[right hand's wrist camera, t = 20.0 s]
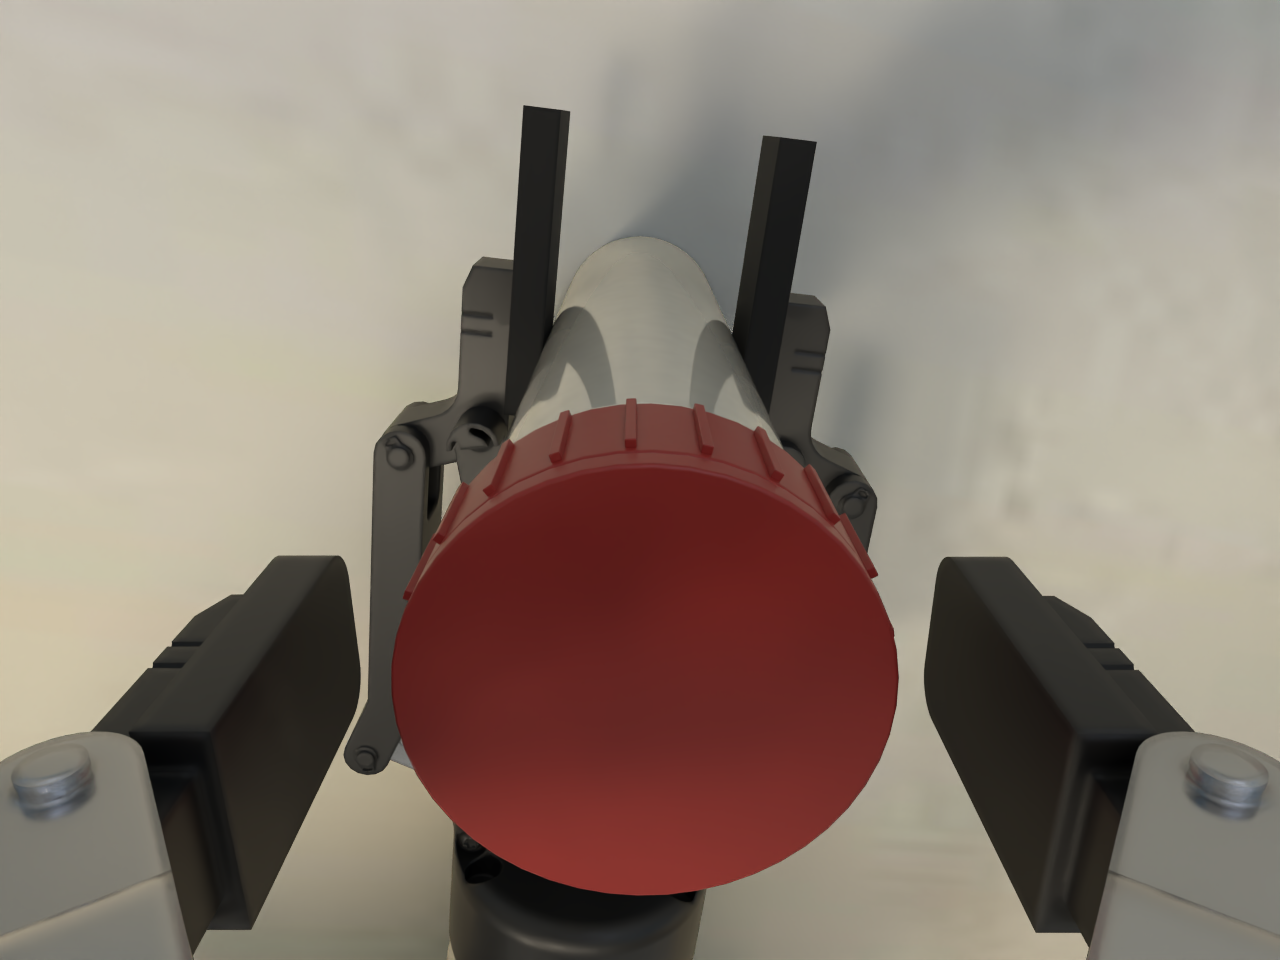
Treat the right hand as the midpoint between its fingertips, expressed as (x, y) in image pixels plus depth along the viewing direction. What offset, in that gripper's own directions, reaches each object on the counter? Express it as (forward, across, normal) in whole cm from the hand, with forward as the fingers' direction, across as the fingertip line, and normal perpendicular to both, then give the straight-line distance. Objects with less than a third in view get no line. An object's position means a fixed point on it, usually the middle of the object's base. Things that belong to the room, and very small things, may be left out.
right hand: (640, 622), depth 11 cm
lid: (-2, 0, -1) cm, 2 cm away
